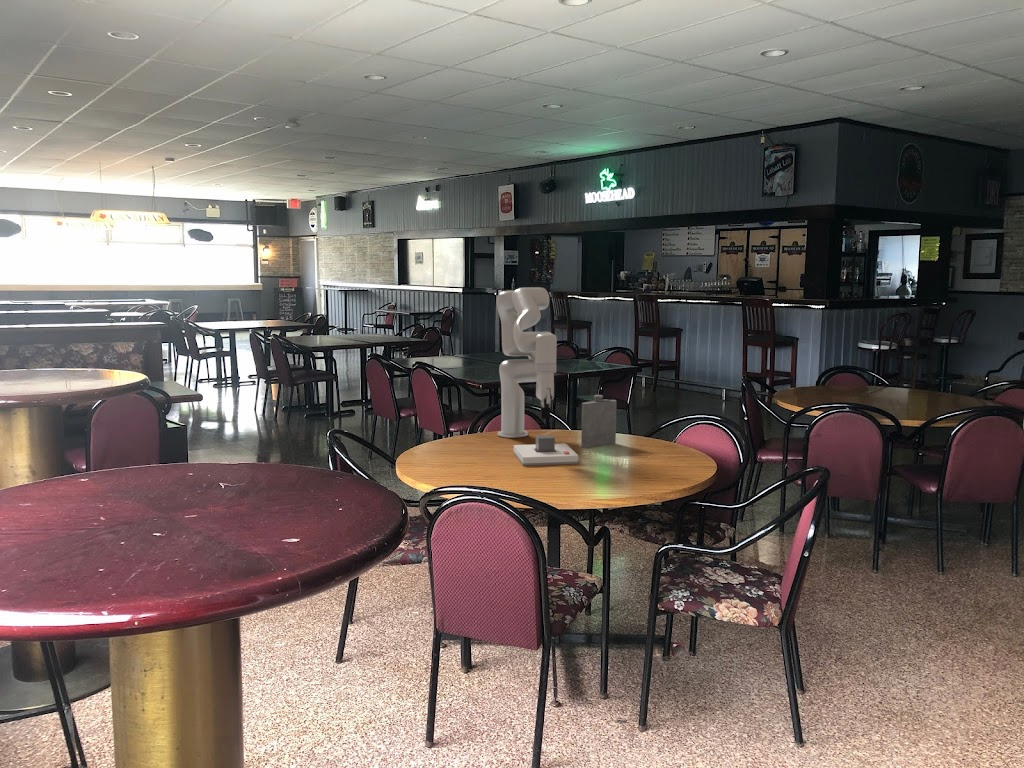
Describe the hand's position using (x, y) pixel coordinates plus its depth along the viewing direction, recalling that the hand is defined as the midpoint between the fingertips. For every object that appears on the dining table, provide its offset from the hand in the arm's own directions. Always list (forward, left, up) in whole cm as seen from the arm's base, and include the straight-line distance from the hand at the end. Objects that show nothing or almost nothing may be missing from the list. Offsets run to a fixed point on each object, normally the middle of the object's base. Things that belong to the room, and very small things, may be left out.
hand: (545, 417), depth 292 cm
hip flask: (-18, +25, -15) cm, 34 cm away
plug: (0, 0, -14) cm, 14 cm away
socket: (0, 0, -15) cm, 15 cm away
